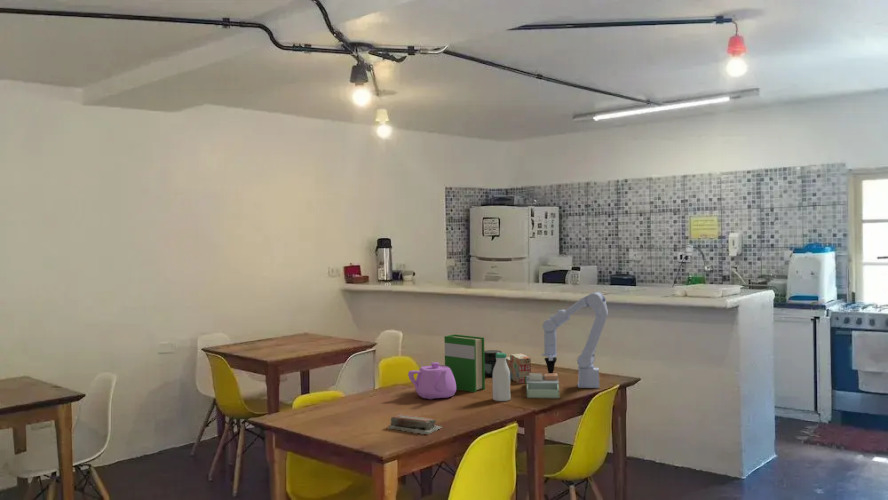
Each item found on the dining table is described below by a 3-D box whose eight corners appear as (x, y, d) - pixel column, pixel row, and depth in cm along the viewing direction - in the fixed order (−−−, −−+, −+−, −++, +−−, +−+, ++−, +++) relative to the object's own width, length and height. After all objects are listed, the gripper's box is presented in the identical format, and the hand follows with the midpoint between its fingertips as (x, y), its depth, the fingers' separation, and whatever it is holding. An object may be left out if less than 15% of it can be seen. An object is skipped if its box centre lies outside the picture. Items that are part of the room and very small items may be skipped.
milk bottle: (509, 401, 305) (508, 355, 305) (491, 401, 307) (490, 354, 306) (511, 397, 313) (510, 352, 312) (494, 397, 314) (493, 351, 314)
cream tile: (542, 377, 335) (542, 373, 335) (542, 380, 329) (542, 375, 329) (529, 377, 336) (529, 373, 336) (529, 379, 330) (529, 375, 330)
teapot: (404, 394, 322) (403, 361, 322) (448, 390, 328) (448, 358, 328) (417, 406, 300) (416, 370, 300) (464, 401, 307) (464, 366, 306)
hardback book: (484, 389, 330) (484, 337, 329) (475, 392, 324) (474, 339, 324) (455, 384, 341) (454, 334, 341) (445, 387, 336) (444, 336, 335)
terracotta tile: (557, 377, 334) (557, 373, 334) (557, 380, 328) (557, 375, 328) (544, 377, 335) (544, 373, 335) (544, 380, 329) (544, 375, 329)
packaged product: (386, 417, 266) (401, 411, 275) (387, 430, 267) (401, 423, 275) (428, 423, 257) (442, 416, 266) (428, 436, 258) (442, 429, 266)
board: (557, 384, 337) (557, 376, 337) (559, 392, 322) (558, 383, 322) (526, 384, 339) (526, 376, 338) (526, 391, 324) (526, 382, 324)
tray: (558, 392, 322) (558, 384, 322) (559, 398, 310) (559, 390, 310) (527, 391, 324) (527, 383, 324) (526, 397, 312) (526, 389, 312)
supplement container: (506, 374, 364) (506, 350, 363) (496, 378, 355) (496, 353, 354) (488, 372, 369) (488, 349, 369) (478, 376, 360) (477, 352, 360)
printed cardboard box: (504, 375, 362) (503, 351, 361) (515, 374, 363) (515, 350, 363) (518, 384, 341) (518, 358, 341) (531, 383, 342) (530, 357, 342)
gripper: (541, 342, 347) (542, 370, 347) (542, 347, 332) (542, 376, 333) (556, 342, 346) (556, 370, 346) (557, 347, 331) (557, 376, 332)
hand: (550, 373), depth 339 cm, fingers closed
